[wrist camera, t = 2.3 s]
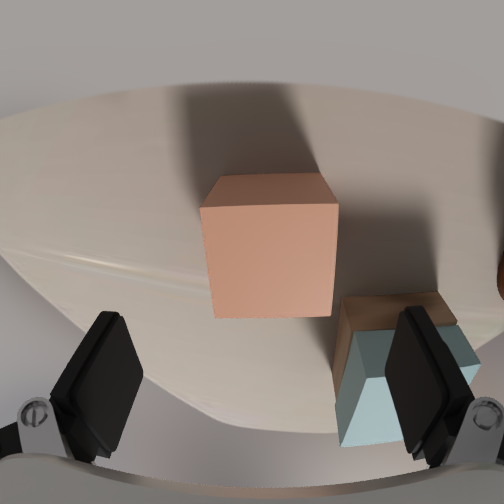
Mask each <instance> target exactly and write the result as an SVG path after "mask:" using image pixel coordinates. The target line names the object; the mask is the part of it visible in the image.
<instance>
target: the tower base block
mask: <svg viewBox="0 0 504 504" xmlns="http://www.w3.org/2000/svg"><path fill="white" fill-rule="evenodd" d="M416 305H422V306H423V307H424V308H425V310H426V312H427V313H428V315H429V317H430V318H431V320H432V322H433V324H434V325H435V327H441V326H452V325H456V324H457V319H456V318H455V316H454V315H453V313H452V312H451V310H450V309H449V307H448V306H447V304H446V303H445V301H444V300H443V298H442V297H441V295H440V294H439V292H438V291H436V292H422V293H408V294H393V295H375V296H356V297H342V298H341V307H340V315H339V324H338V331H337V339H336V346H335V353H334V360H333V366H332V377H333V384H334V390H335V397H336V400H337V397H338V393H339V389H340V386H341V382H342V379H343V375H344V371H345V367H346V363H347V359H348V355H349V351H350V347H351V343H352V339H353V334H354V331H377V330H395V329H396V325H397V321H398V317H399V313H400V312H401V311H404V309H405V307H407V306H416Z"/></svg>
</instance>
